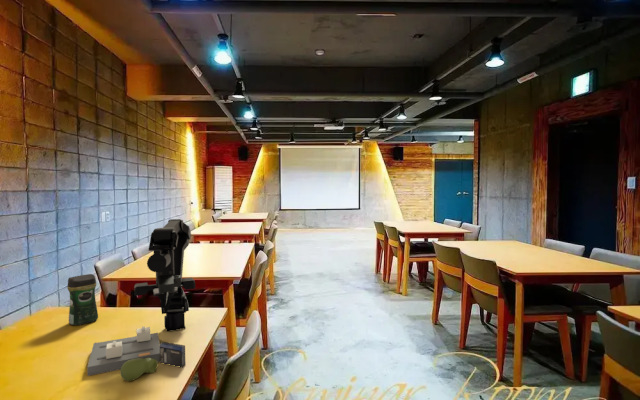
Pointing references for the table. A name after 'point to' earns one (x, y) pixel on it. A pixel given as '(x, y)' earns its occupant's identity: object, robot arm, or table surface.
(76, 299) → the coffee jar
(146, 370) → the pear
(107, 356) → the tab
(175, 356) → the mini dv tape
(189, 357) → the table surface
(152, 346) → the switch panel
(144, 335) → the tab
